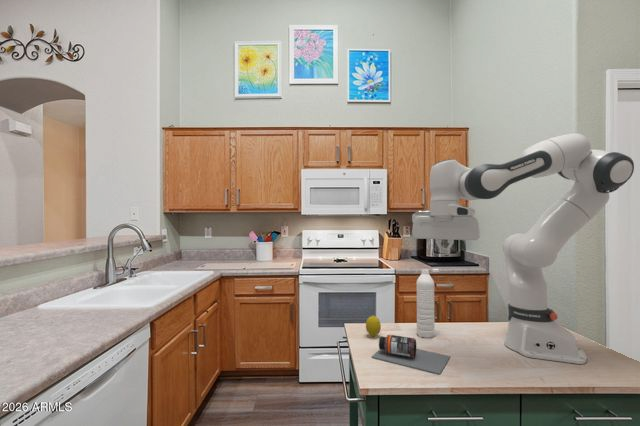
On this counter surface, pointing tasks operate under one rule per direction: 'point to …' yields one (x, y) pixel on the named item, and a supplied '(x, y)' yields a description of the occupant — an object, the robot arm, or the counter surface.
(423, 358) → the mat
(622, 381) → the counter surface
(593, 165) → the robot arm
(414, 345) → the supplement bottle
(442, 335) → the counter surface
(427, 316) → the water bottle
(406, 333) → the counter surface
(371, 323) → the lemon
